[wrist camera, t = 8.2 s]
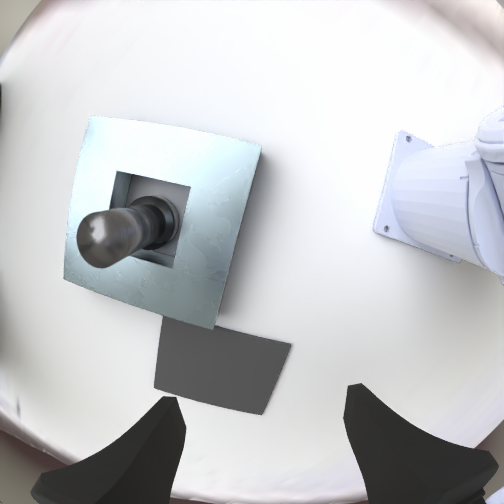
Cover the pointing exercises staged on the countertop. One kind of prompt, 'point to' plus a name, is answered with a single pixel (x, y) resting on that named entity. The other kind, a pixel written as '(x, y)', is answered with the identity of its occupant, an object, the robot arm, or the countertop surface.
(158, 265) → the grey flat square frame
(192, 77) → the countertop surface
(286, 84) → the countertop surface
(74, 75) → the countertop surface
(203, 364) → the tool mat
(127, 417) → the countertop surface
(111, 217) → the dark grey peg
